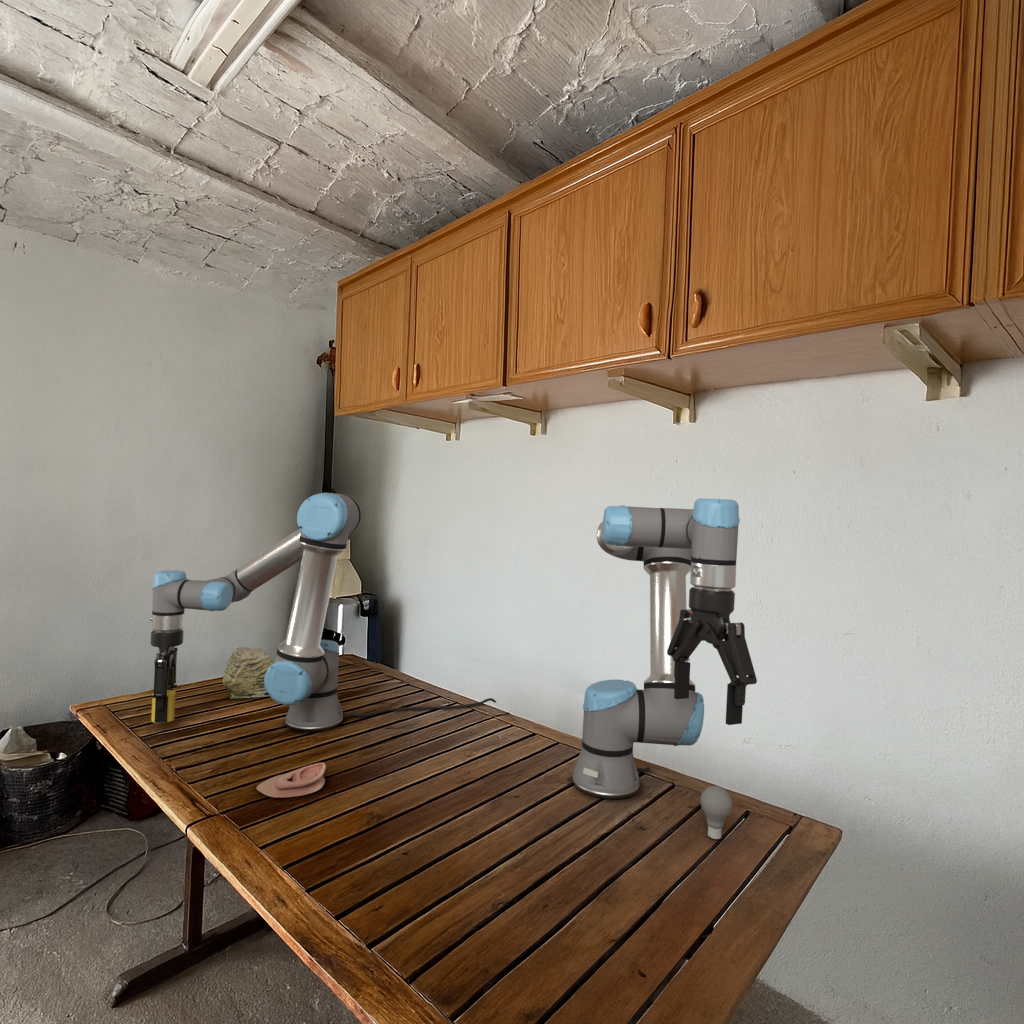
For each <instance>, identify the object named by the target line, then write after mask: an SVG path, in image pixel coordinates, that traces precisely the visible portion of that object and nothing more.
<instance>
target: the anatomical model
mask: <svg viewBox="0 0 1024 1024" xmlns="http://www.w3.org/2000/svg"><path fill="white" fill-rule="evenodd" d="M326 768H327V765H326V763H325V762H316V763H313V764H309V765H306V766H302V767H300V768H297V769H294V770H292V771H289V772H286V773H282V774H278V775H275V776H273V777H270V778H267V779H265V780H264V781H262V782H261V783H259V784H258V785H256V790H257V792H259V793H261V794H263V795H264V796H267V797H270V798H275V799H278V798H293V797H294V798H295V797H300V796H301V797H302V796H306V795H309V794H312V793H315V792H318V791H320V790H321V789H322V788H323V787H324V785H325V783H326V778H325V777H324V775H325V772H326V770H327V769H326Z"/></svg>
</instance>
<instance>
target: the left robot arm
mask: <svg viewBox="0 0 1024 1024" xmlns="http://www.w3.org/2000/svg"><path fill="white" fill-rule="evenodd" d="M363 517H364V512H363V508H362V505H361V504H360V502H359V501H358V500H357V499H356V498H354V496H352V495H349V494H347V493H335V492H320V493H316V494H313V495H311V496H309V497H307V498H306V499H305V500H304V501H303V502H302V503H301V505H300V506H299V509H298V511H297V514H296V522H297V527H298V529H297V530H295V531H294V532H292V533H290V534H288V535H287V536H286V537H284V538H283V539H281V540H280V541H278V542H277V543H275V544H274V545H272V546H270V547H269V548H267V549H266V550H264V551H263V552H261V553H260V554H258V555H257V556H254V558H251V559H250V560H248V561H247V562H246V563H244V564H242V565H241V566H239V567H238V568H236V569H235V570H233V571H232V572H230V573H228V574H227V575H224V576H220V577H217V578H212V579H208V580H200V579H199V580H197V579H195V580H194V579H187V578H188V577H187V573H186V571H184V570H179V569H178V570H176V569H175V570H174V569H167V570H166V569H165V570H159V571H157V572H155V573H154V575H153V583H152V588H151V589H152V608H151V609H152V611H151V616H150V617H149V618H148V619H149V620H148V621H150V622H151V625H150V627H151V632H150V645H151V646H152V647H155V648H158V652H156V655H155V659H154V660H153V662H154V676H153V693H152V694H153V696H152V695H151V699H152V698H156V699H155V722H154V723H153V724H157V723H156V722H166V723H168V722H167V707H168V696H167V690H173V691H175V690H174V689H177V688H178V684H176V683H177V661H178V659H177V657H178V651H179V649H178V646H181V645H182V644H183V643H184V630H183V629H184V628H185V610H197V611H198V610H199V611H209V612H214V611H215V612H222V611H225V610H227V609H228V607H229V606H230V605H231V604H233V603H237V602H241V601H242V600H244V599H246V598H248V597H249V596H250V595H251V593H252V592H253V591H255V590H256V589H258V588H260V587H261V586H263V585H264V584H266V583H267V582H269V581H271V580H272V579H274V578H276V577H277V576H279V575H280V574H281V573H283V572H285V571H286V570H288V569H290V568H291V567H293V566H294V565H296V564H297V563H299V562H300V567H299V571H298V577H297V581H296V582H297V583H296V587H295V590H294V591H295V592H294V596H293V601H292V604H291V605H292V606H291V610H290V616H289V621H288V624H287V625H288V626H287V631H286V635H285V636H286V637H285V640H283V641H282V642H281V643H279V644H278V645H277V648H276V653H275V658H274V664H272V665H271V666H270V667H269V669H268V670H267V672H266V674H265V677H264V685H265V689H266V691H267V693H268V694H269V695H270V696H269V697H270V698H271V699H272V700H273V702H276V703H277V704H279V705H282V706H289V708H288V711H287V713H286V715H285V726H286V728H287V729H289V730H291V731H294V732H295V731H296V732H301V733H316V732H325V731H329V730H332V729H335V728H337V727H339V726H340V725H342V723H343V722H344V716H346V717H347V716H349V717H352V716H353V717H370V716H374V715H378V714H382V713H387V712H394V711H396V712H397V711H412V710H413V711H414V710H415V711H416V710H448V709H459V708H460V709H461V708H470V707H475V706H480V705H483V704H485V703H487V702H493V703H495V704H496V703H497V700H495V699H494V698H492V697H489V698H486V699H484V700H481V701H479V702H478V701H477V702H473V703H466V704H465V703H464V704H458V705H437V706H436V705H435V706H408V707H407V706H405V707H392V708H385V709H384V708H383V709H379V710H376V711H372V712H367V713H357V712H343V709H342V706H341V702H340V699H339V695H338V682H339V662H340V661H339V660H340V645H339V643H338V642H337V641H335V640H330V639H322V637H323V632H324V627H325V621H326V617H327V612H328V607H329V603H330V599H331V598H330V597H331V592H332V588H333V583H334V577H335V573H336V569H337V568H336V567H337V563H338V557H339V555H340V554H342V553H344V551H346V549H347V545H348V541H349V540H348V539H349V536H351V535H353V534H354V533H356V532H357V531H358V529H359V528H360V526H361V525H362V523H363V519H364V518H363Z"/></svg>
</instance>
